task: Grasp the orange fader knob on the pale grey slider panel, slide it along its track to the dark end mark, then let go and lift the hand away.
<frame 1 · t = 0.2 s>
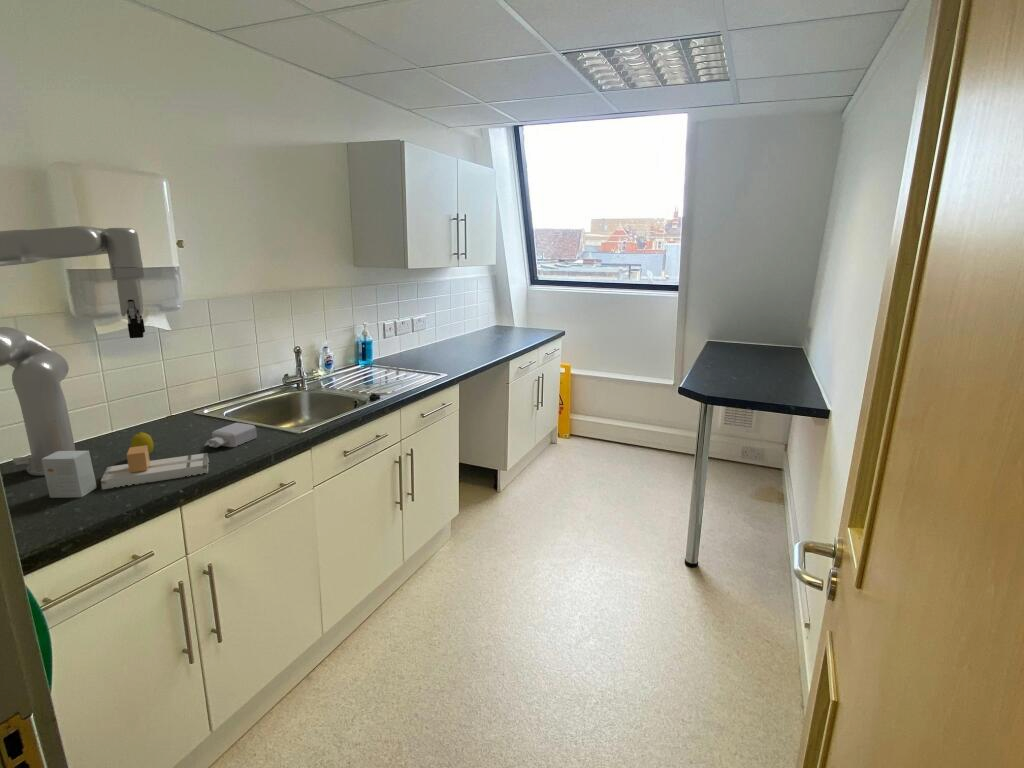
hand: (137, 335, 157), 36 cm above the countertop, tool pointing down, fingers open, 9 cm apart
small box: (73, 493, 140), on the countertop
lemon: (144, 458, 164), on the countertop
grey bottle: (228, 445, 175), on the countertop
fader knob: (138, 460, 149), point 5 cm above the countertop, slide at 0.0 cm
fader panel: (158, 474, 152), on the countertop
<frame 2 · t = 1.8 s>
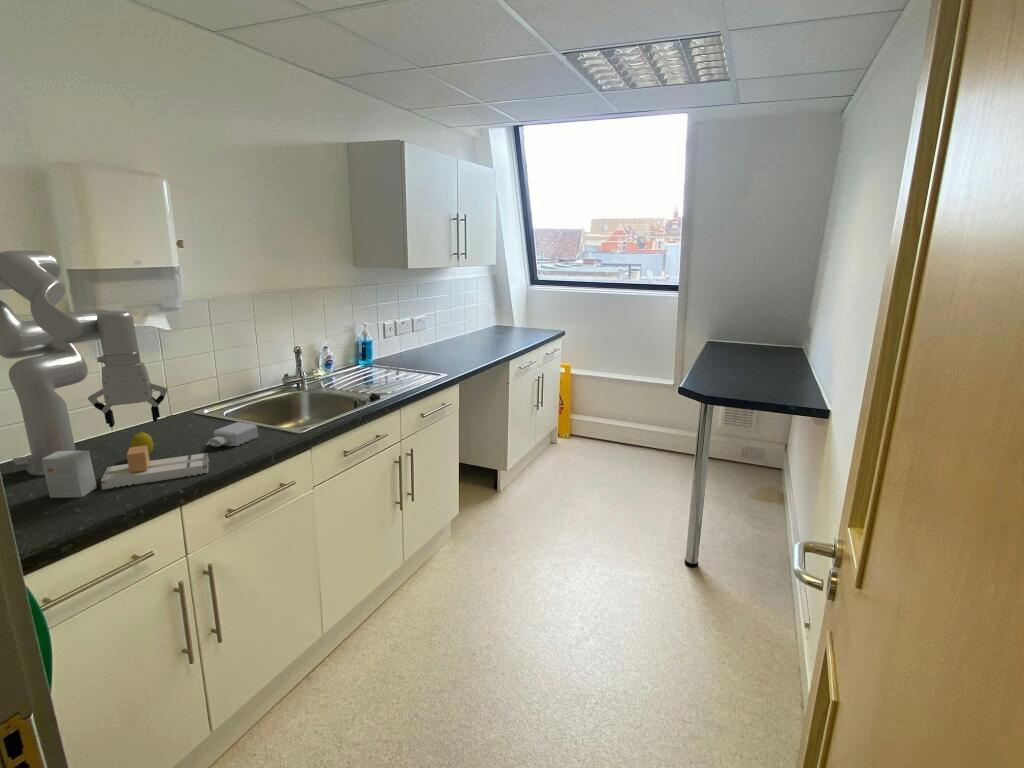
hand: (134, 423, 146), 15 cm above the countertop, tool pointing down, fingers open, 9 cm apart
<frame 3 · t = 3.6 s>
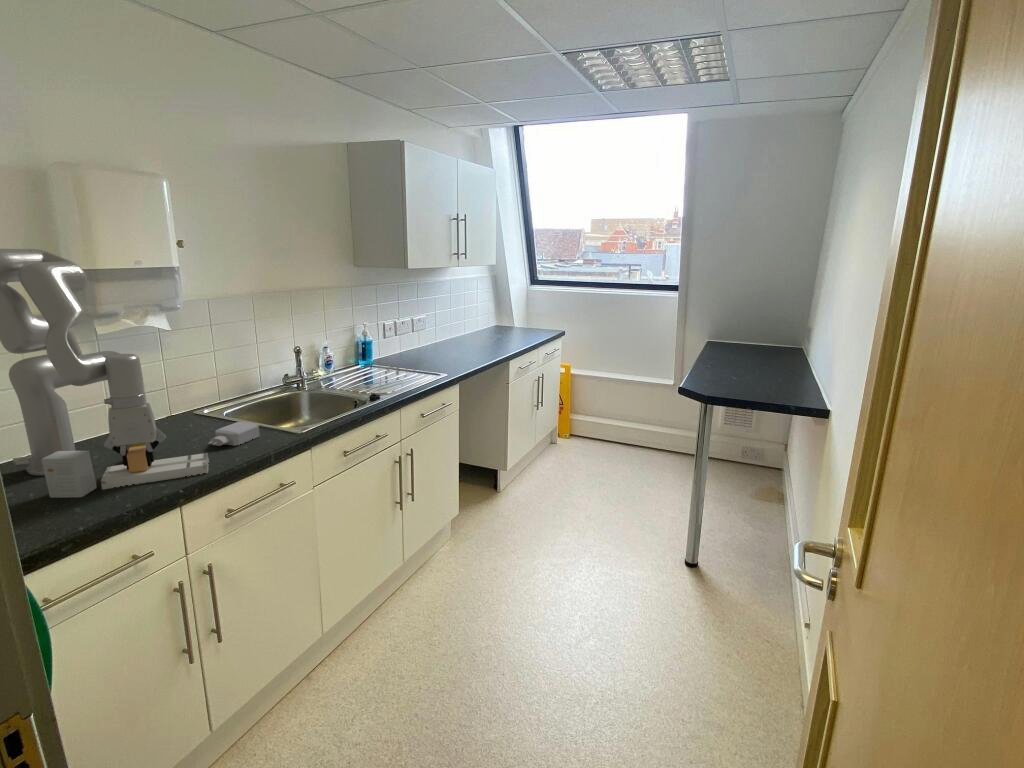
hand: (139, 465, 149), 3 cm above the countertop, tool pointing down, fingers closed on fader knob, 4 cm apart
fader knob: (138, 460, 149), point 5 cm above the countertop, slide at 0.0 cm, touching gripper
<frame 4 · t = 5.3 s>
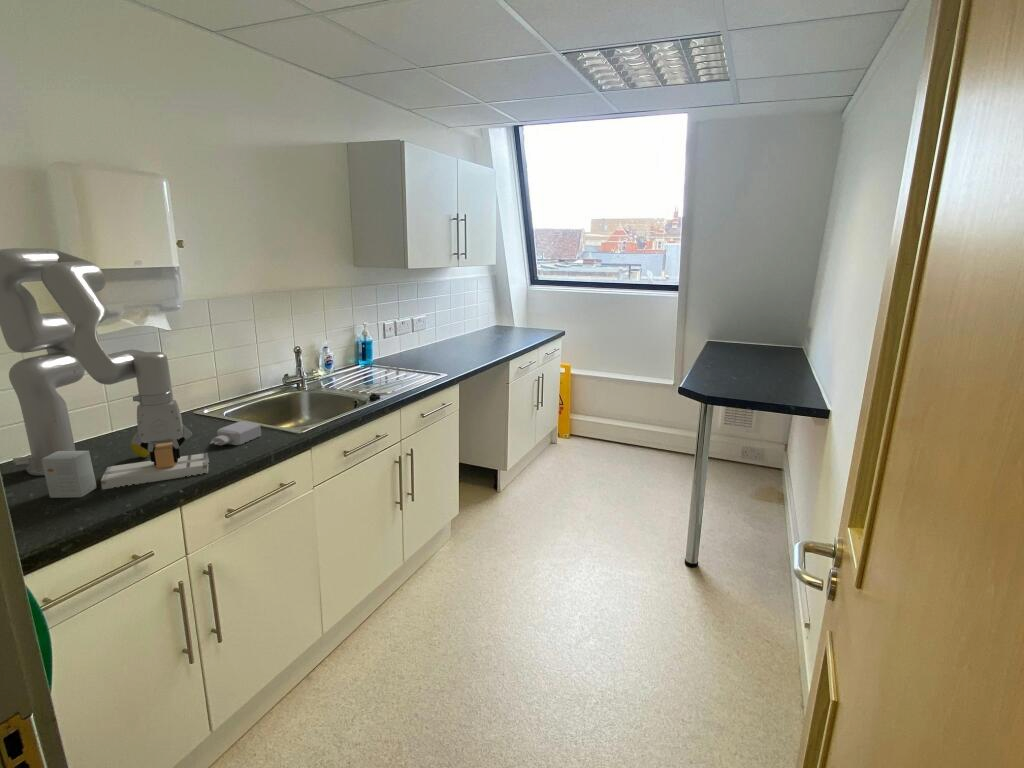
hand: (166, 461, 152), 3 cm above the countertop, tool pointing down, fingers closed on fader knob, 4 cm apart
fader knob: (165, 456, 152), point 5 cm above the countertop, slide at 6.2 cm, touching gripper
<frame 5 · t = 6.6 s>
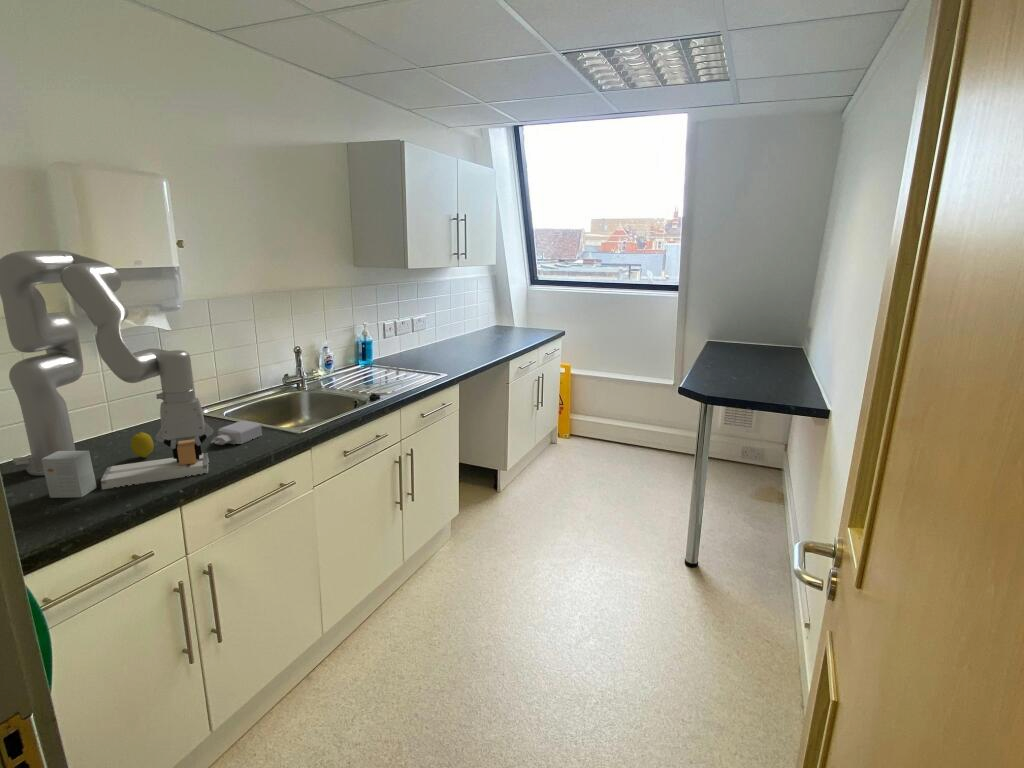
hand: (188, 458, 154), 3 cm above the countertop, tool pointing down, fingers closed on fader knob, 4 cm apart
fader knob: (187, 453, 154), point 5 cm above the countertop, slide at 11.4 cm, touching gripper
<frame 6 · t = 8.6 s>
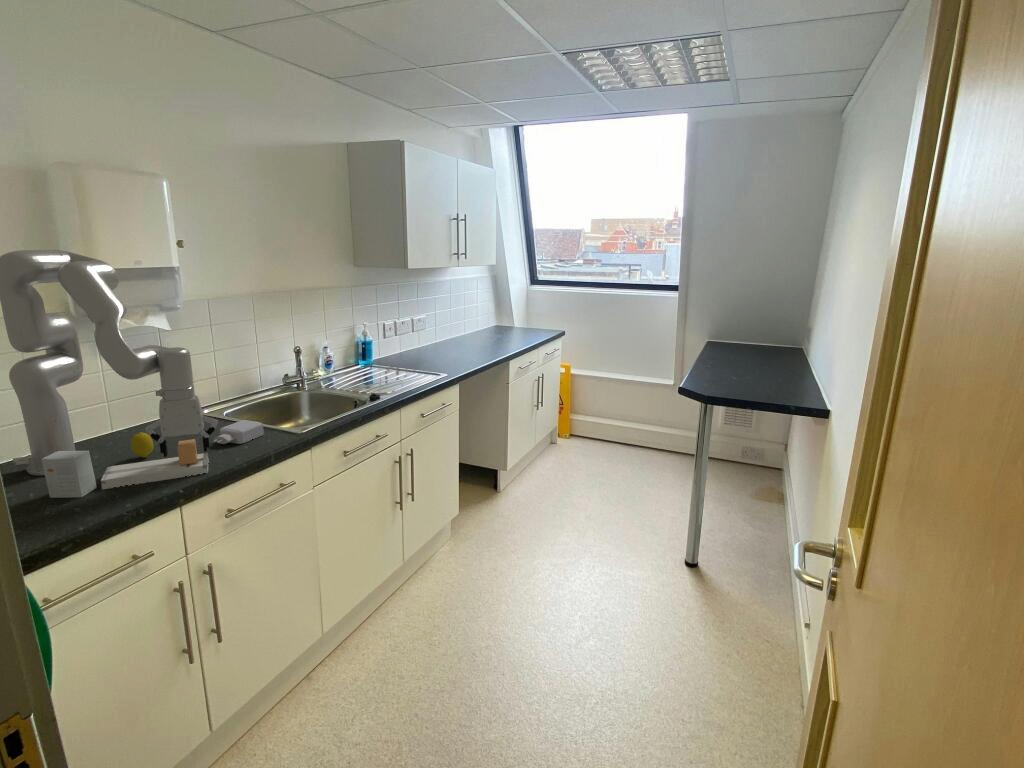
hand: (186, 452, 154), 5 cm above the countertop, tool pointing down, fingers open, 9 cm apart
fader knob: (187, 453, 154), point 5 cm above the countertop, slide at 11.5 cm
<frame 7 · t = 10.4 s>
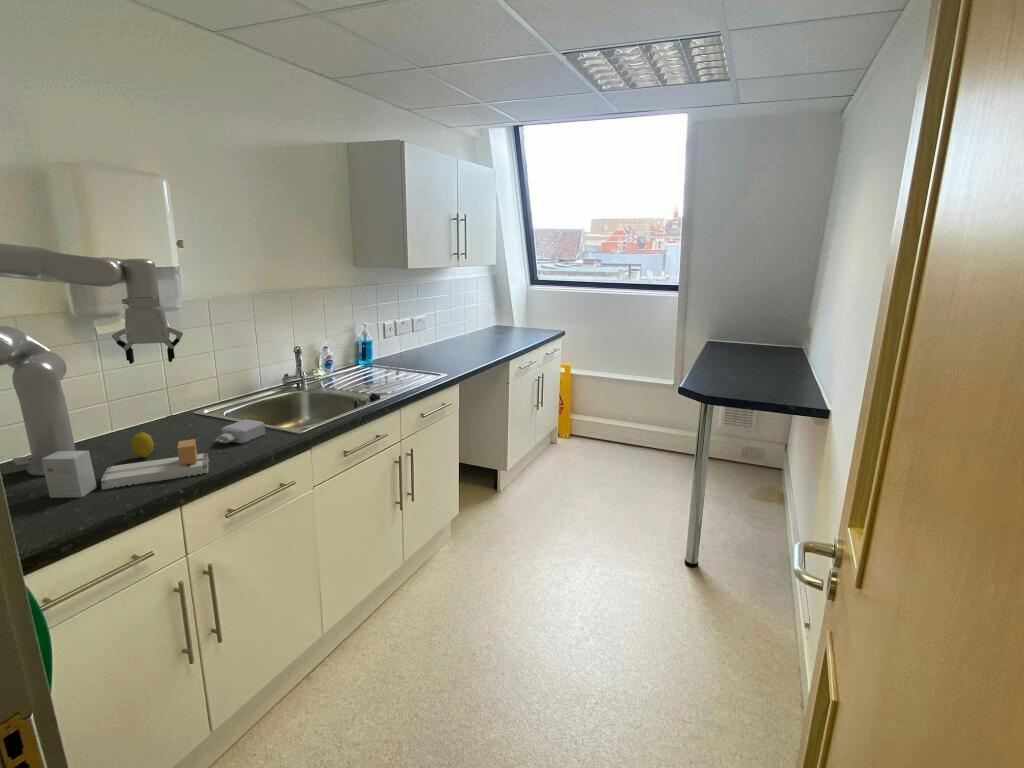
hand: (151, 362, 161), 28 cm above the countertop, tool pointing down, fingers open, 9 cm apart
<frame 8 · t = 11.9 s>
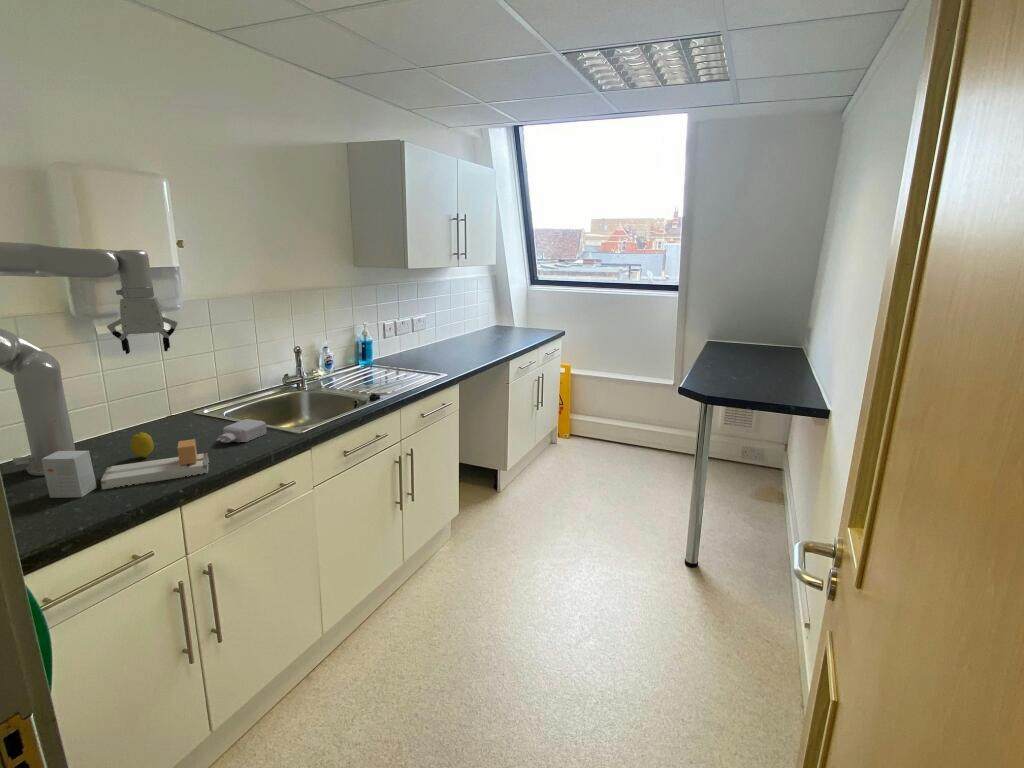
hand: (147, 351, 164), 30 cm above the countertop, tool pointing down, fingers open, 9 cm apart
at the end: fader knob slide at 11.5 cm; the gripper is holding nothing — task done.
